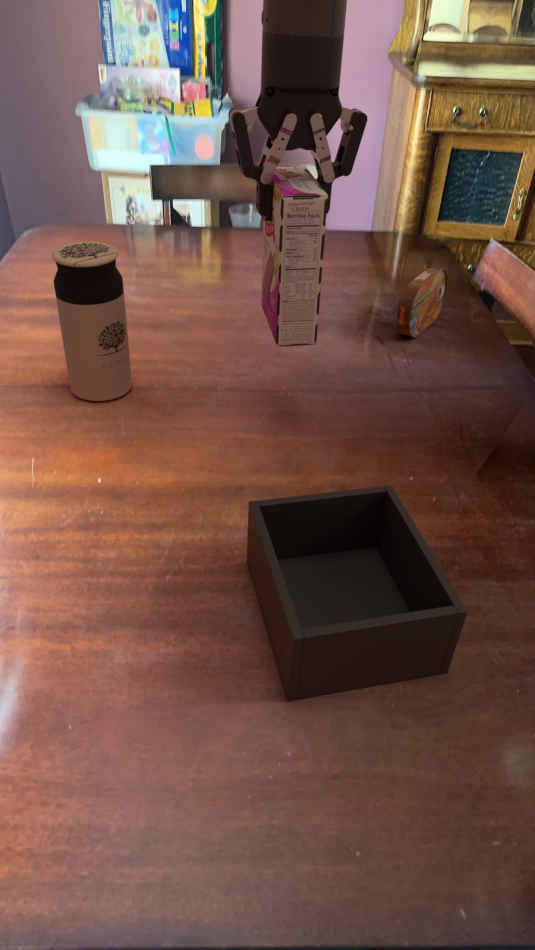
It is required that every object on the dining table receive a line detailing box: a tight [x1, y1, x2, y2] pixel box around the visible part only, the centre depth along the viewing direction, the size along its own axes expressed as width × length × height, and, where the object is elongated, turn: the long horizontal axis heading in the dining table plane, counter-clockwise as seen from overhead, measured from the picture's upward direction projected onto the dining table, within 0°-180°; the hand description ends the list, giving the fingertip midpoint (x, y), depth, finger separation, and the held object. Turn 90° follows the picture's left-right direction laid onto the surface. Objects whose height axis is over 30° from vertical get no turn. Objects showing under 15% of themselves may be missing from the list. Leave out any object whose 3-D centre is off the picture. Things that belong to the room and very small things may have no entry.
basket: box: [246, 484, 469, 702], centre depth 58 cm, size 14×16×8 cm
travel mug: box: [51, 240, 133, 402], centre depth 83 cm, size 8×8×18 cm
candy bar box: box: [261, 165, 328, 348], centre depth 74 cm, size 11×5×16 cm, turn 9°
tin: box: [395, 267, 449, 339], centre depth 106 cm, size 15×3×8 cm, turn 147°
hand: (292, 217), depth 72 cm, fingers closed on candy bar box, 5 cm apart
